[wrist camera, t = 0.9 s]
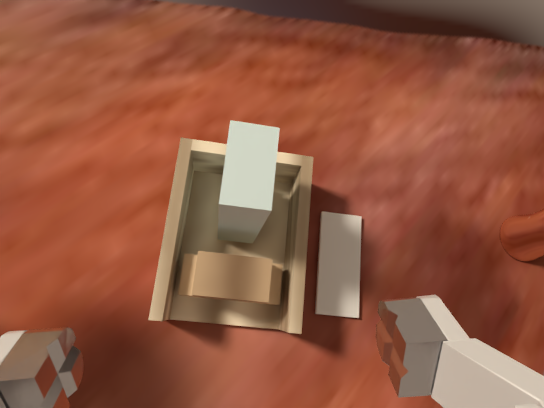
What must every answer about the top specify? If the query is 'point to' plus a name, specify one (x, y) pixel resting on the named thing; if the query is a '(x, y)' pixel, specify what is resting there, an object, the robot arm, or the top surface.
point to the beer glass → (524, 236)
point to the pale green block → (247, 181)
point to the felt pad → (338, 265)
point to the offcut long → (187, 287)
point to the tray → (204, 237)
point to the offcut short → (232, 277)
